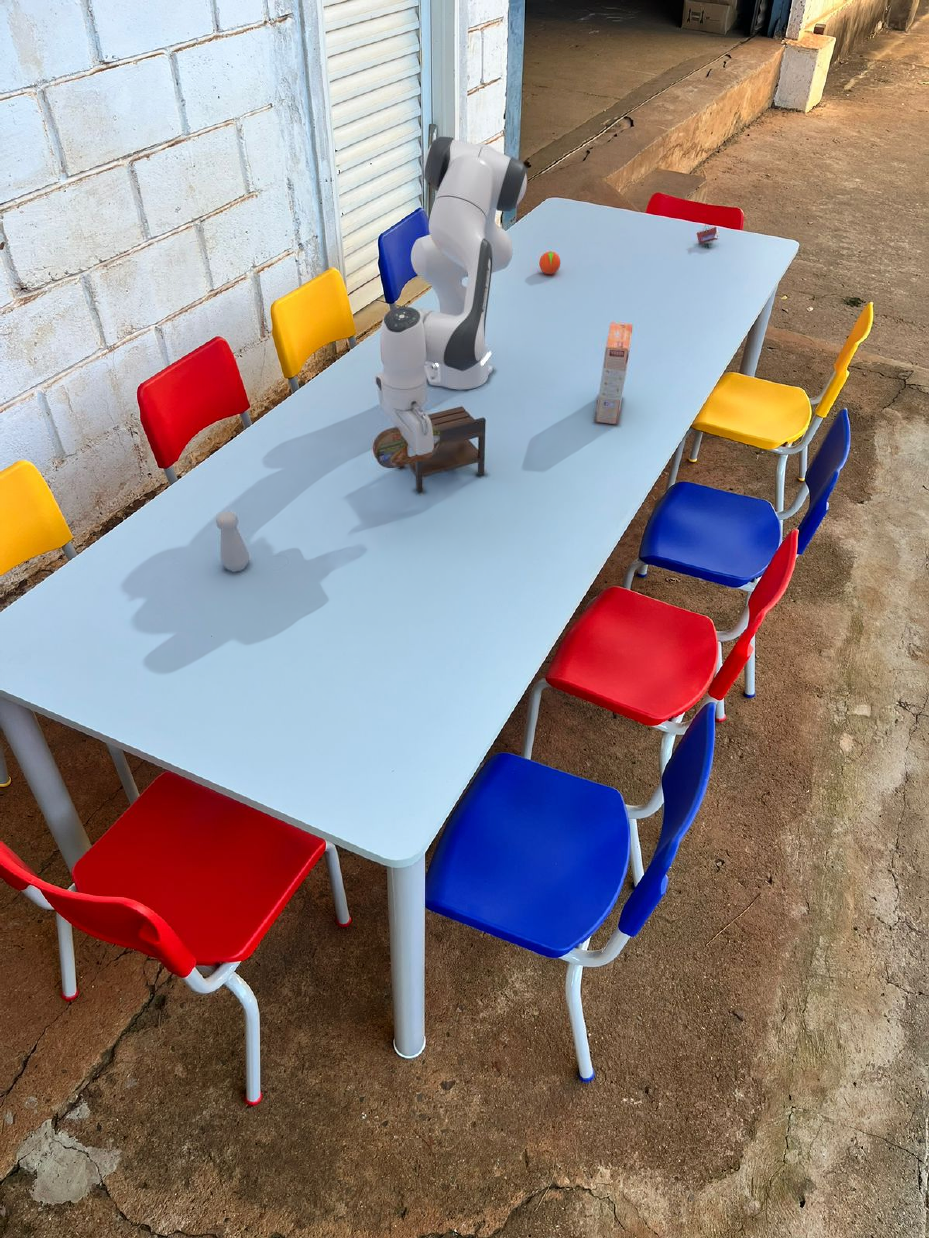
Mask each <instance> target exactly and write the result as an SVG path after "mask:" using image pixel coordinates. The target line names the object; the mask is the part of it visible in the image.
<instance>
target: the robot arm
mask: <svg viewBox="0 0 929 1238" xmlns="http://www.w3.org/2000/svg"><path fill="white" fill-rule="evenodd" d="M423 178H424V180H425V183H426V184H427V186H429V187H430V188H432V189H433V190H434V191H436V192H437V193H436V195H435V198H434V201H433V205H432V207H431V212H430V215H429V219H428V220H429V221H428V232H429V234H427V235H424V236H422V237H418V238H417V239H416V240H415V241H414V243H413V245H412V248H411V252H410V262H411V265H412V269H413V270H414V272H415V274H416V275H417V276H418V277H419V278H420V279H422V280H423V281H425V282H426V283H427V284H428V285H430V287H431V288H432V289H433V291H434V292H435V294H436V296H437V299H438V304H439V311H435V310H431V309H426V308H421V307H411V306H399V307H398V306H397V307H394V308H392V309H390V310H388V311H387V312H386V313H385V315H384V316H383V318H382V322H381V328H380V342H379V343H380V344H379V345H380V346H379V347H380V362H381V365H382V367H383V371H382V372H380V373H376V374H375V375H374V380H375V384H376V386H377V392H378V400H379V406H380V408H381V411H382V413H383V414H384V415H385V416H386V417H387V419H388V420H389V421H390V422H391V424H392V425H393V427H397V429H398V430H399V431H400V434H401V435H402V436H403V437H404V439H405V440H406V441H407V443H408V446H406V453H407V454H408V456H409V457H412V456H415V455H416V454H417V455H423V454H427V453H430V452H432V451H433V449H434V441H433V430H432V424H431V420H430V418H429V417H428V414H427V412H425V410H424V409H423V408H422V406H424V405H425V404H426V402H427V400H428V383H429V385H431V386H435V387H444V388H447V389H452V390H460V391H461V390H462V391H463V390H471V389H475V388H479V387H480V386H483V385H484V384H485V383H486V382H487V381H488V379H489V375H490V374H492V372H493V371H494V368H493V366H492V365H490V360H489V358H490V356H491V355H492V352H491V351H489V346H488V345H489V344H488V343H486V342H485V340H486V339H485V338H486V324H487V323H486V321H487V315H488V305H489V300H490V299H489V298H490V292H491V291H490V289H491V281H492V274H494V273H497V272H500V271H502V270H505V269H507V267H509V265H510V263H511V262H512V259H513V254H514V252H513V251H514V249H513V248H514V247H513V241H512V239H511V237H510V235H509V233H508V232H507V231H506V230H505V229H504V228H502V227H500V226H499V225H497V223H496V220H495V219H496V213H497V211H499V212H512V211H513V210H514V209H515V210H516V208H517V206H518V205H519V204H520V202H521V201H522V199H523V198H524V196H525V194H526V191H527V186H528V177H527V168H526V166H525V163H523V162H522V161H521V160H519V159H517V158H516V157H514V156H511V157H510V156H508V155H506V154H504V153H503V152H500V151H498V150H496V149H495V148H494V147H492V146H491V145H489V144H485V143H472V142H469V141H463V140H458V139H455V138H454V137H451V136H438V137H437V138H435V139H434V140H433V141H432V143H431V144H430V146H429V147H428V148H427V150H426V153H425V155H424V158H423ZM465 278H467V282H466V283H467V284H466V285H463V279H465Z"/></svg>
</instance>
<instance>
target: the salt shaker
mask: <svg viewBox="0 0 929 1238" xmlns="http://www.w3.org/2000/svg"><path fill="white" fill-rule="evenodd" d="M215 524H216V527H217V528H218V529H219V530H220V545H219V546H220V547H219V548H220V550H219V551H220V552H219V553H220V555H219V558H220V562H221V564H222V565H223V566H224V568H226V570H228V571H229V572H233V573H236V572H241V571H244V569H245V568H246V567H247V566H248V562H249V560H250V555H249V551H248V549H247V547H246V545H245V543H244V541H243V538H242V536H241V533H240V531H239V529H238V527H237V526H238V524H239V518H238V515H237V514H236V513H235V512H233V511H230V510H224V511H221V512H219V513H218V514H217V515H216V517H215Z"/></svg>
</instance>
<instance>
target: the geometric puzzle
mask: <svg viewBox="0 0 929 1238" xmlns="http://www.w3.org/2000/svg"><path fill="white" fill-rule="evenodd" d="M704 226H707V227H708V228H707V227H706V228H703V230H701V231H697V232H696V237H697V242H698V243H697V244H698V245H699V246H701V245H704V246H707V244H709V245H708V248H711V246H712V244H710V243H714V241H715V242H716V241H717V240H720V239H719V238H720V231H719V229H718V227H717V226H713V227H710V225H708V224H707V223H705V224H704Z"/></svg>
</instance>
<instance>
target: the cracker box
mask: <svg viewBox="0 0 929 1238" xmlns="http://www.w3.org/2000/svg"><path fill="white" fill-rule="evenodd" d="M608 327H609V328H608V332H607V339H606V343H605V349H604V356H603V363H602V370H601V377H600V383H599V384H600V385H599V392H598V400H597V406H596V415H595V422H596V423H601V424H608V425H615V426H617V425H618V421H619V416H620V410H621V405H622V399H623V393H624V388H625V382H626V375H627V369H628V363H629V359H630V358H629V357H630V351H631V344H632V334H633V324H632V323H622V322H614V321H613V322H612V321H611V322H609V326H608Z"/></svg>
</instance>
